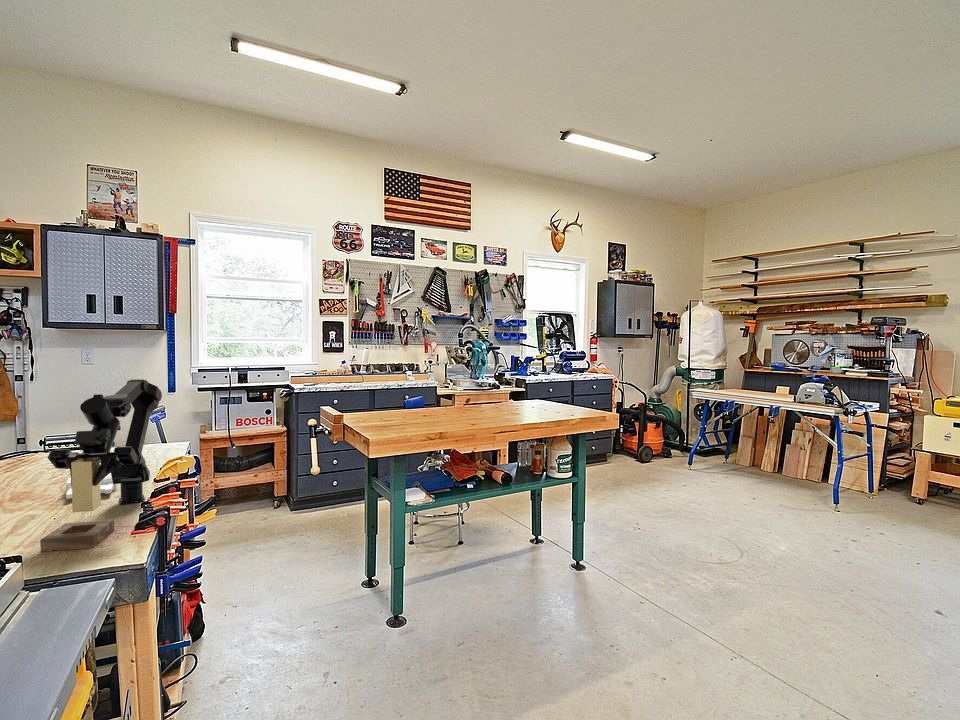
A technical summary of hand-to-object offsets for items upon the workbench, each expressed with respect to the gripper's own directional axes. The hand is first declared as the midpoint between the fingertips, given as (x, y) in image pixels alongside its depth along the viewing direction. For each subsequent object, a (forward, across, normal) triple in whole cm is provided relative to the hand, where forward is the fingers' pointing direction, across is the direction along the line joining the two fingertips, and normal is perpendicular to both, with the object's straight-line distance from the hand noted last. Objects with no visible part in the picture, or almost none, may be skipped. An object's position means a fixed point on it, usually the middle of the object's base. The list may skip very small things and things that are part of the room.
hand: (83, 485), depth 127 cm
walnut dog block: (+11, 0, +8) cm, 14 cm away
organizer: (-26, -19, +46) cm, 56 cm away
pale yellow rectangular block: (+4, 0, +6) cm, 7 cm away
